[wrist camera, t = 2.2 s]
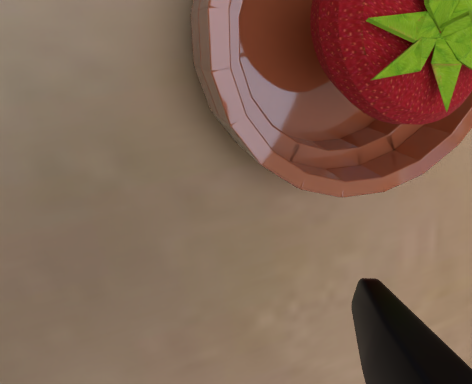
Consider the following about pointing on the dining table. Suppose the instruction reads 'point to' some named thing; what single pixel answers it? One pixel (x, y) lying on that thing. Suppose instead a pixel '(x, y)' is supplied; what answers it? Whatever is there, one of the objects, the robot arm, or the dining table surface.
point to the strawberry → (396, 55)
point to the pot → (304, 103)
